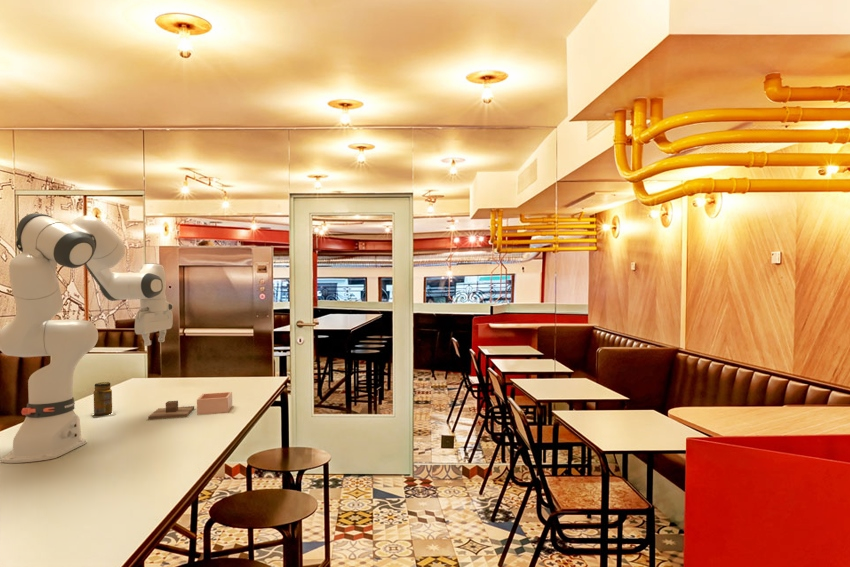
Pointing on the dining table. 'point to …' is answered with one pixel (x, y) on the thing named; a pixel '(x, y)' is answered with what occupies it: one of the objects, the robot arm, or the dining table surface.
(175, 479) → the dining table surface
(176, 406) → the walnut lid
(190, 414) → the pale green square mat
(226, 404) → the pink rectangular planter
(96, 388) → the condiment
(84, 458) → the dining table surface
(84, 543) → the dining table surface
